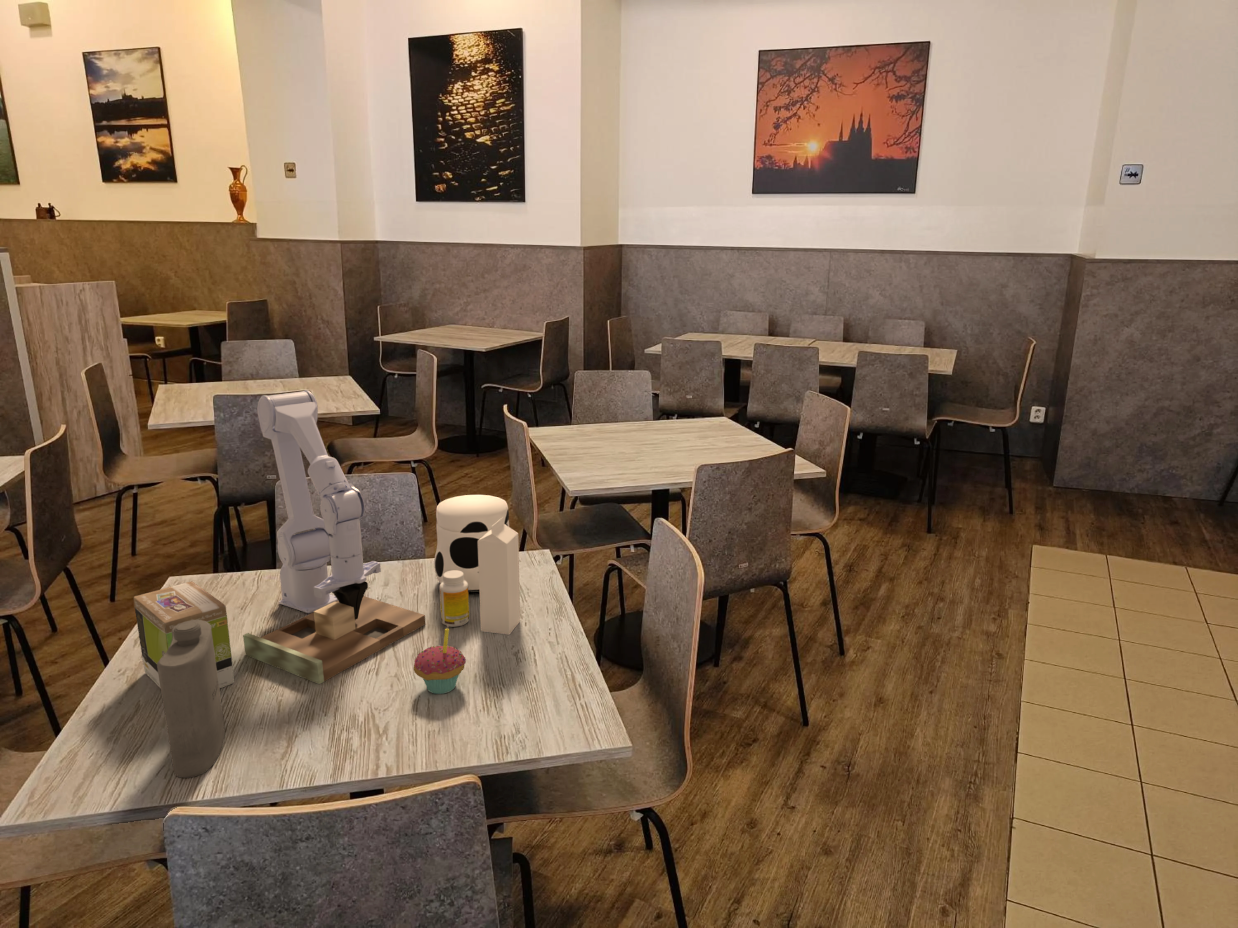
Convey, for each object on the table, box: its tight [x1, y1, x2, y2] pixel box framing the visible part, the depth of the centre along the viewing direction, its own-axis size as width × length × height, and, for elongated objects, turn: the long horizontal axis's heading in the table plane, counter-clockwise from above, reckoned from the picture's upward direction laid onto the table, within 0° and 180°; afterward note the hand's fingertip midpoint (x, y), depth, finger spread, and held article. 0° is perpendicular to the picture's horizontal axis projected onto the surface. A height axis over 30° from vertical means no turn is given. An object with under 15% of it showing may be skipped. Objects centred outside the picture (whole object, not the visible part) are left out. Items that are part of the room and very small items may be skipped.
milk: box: [478, 517, 521, 636], centre depth 157 cm, size 6×6×22 cm
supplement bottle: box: [439, 570, 470, 628], centre depth 160 cm, size 6×6×10 cm
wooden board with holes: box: [242, 595, 426, 685], centre depth 153 cm, size 20×26×4 cm
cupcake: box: [413, 625, 467, 695], centre depth 136 cm, size 9×8×12 cm
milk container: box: [433, 494, 510, 593], centre depth 177 cm, size 17×17×18 cm
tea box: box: [133, 581, 235, 689], centre depth 138 cm, size 15×10×15 cm
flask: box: [157, 620, 226, 779], centre depth 118 cm, size 15×6×20 cm, turn 18°
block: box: [314, 601, 355, 640], centre depth 152 cm, size 5×5×4 cm
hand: (351, 618), depth 156 cm, fingers closed
